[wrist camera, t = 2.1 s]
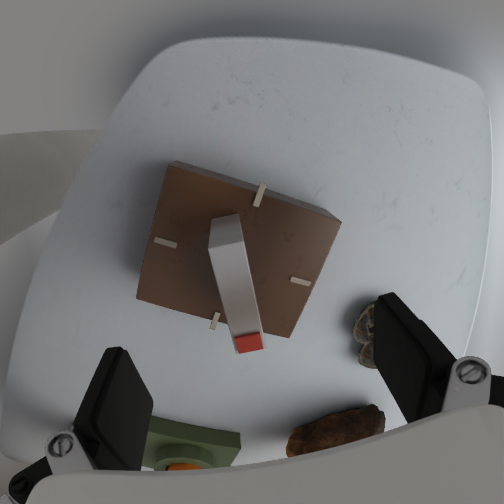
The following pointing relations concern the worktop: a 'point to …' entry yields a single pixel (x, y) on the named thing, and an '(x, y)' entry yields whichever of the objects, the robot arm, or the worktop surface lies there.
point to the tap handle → (235, 283)
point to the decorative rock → (336, 430)
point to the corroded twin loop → (365, 336)
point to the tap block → (255, 238)
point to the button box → (188, 445)
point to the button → (182, 467)
